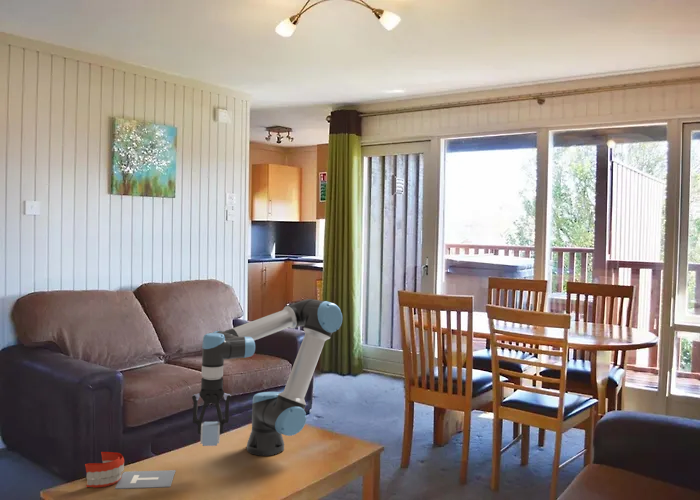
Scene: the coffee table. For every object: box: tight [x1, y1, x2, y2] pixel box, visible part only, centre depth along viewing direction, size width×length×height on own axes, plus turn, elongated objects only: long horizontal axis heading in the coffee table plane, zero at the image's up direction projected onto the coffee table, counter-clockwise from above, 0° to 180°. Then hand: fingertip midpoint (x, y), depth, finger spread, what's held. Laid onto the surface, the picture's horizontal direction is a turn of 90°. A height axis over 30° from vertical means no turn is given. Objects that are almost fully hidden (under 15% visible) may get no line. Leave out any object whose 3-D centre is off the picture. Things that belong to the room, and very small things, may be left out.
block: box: [201, 421, 219, 447], centre depth 209 cm, size 5×5×7 cm
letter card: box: [114, 469, 176, 490], centre depth 206 cm, size 18×14×1 cm
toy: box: [84, 451, 125, 489], centre depth 203 cm, size 12×10×8 cm
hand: (210, 442), depth 209 cm, fingers closed on block, 5 cm apart
